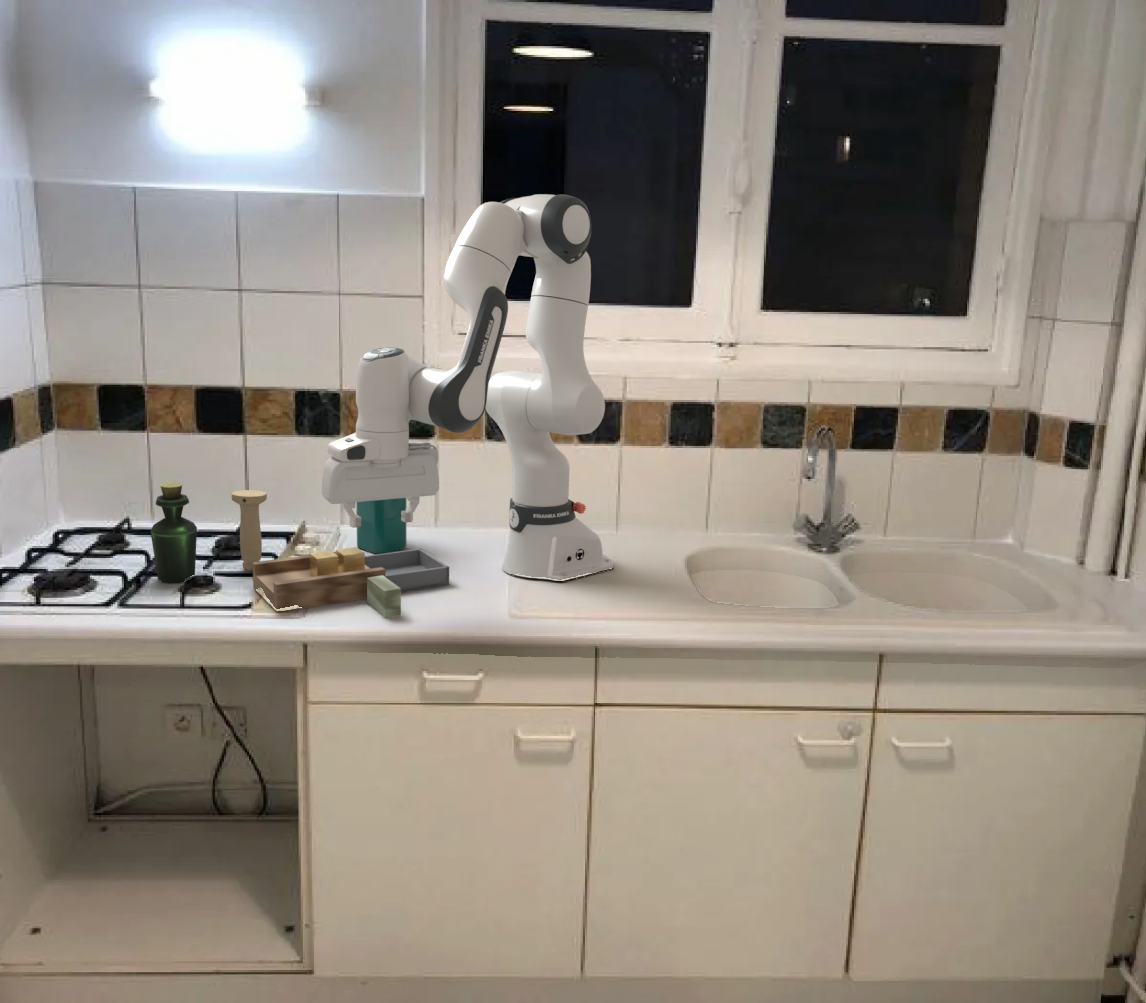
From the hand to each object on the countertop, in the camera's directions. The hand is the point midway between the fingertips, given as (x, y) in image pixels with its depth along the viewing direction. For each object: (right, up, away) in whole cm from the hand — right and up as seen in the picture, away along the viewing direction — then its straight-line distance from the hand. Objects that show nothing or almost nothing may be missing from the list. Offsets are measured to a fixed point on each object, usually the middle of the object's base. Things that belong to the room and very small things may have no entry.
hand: (381, 524), depth 187 cm
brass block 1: (-12, -10, +11) cm, 19 cm away
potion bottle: (-41, -11, +16) cm, 45 cm away
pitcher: (-6, -6, +39) cm, 40 cm away
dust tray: (+1, -11, +20) cm, 23 cm away
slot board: (-13, -13, +12) cm, 22 cm away
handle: (-29, -9, +23) cm, 38 cm away
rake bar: (0, -15, +4) cm, 16 cm away
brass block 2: (-8, -9, +14) cm, 19 cm away
